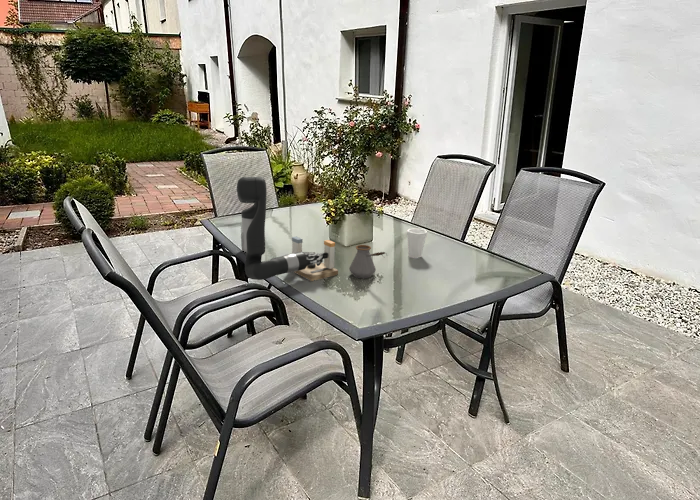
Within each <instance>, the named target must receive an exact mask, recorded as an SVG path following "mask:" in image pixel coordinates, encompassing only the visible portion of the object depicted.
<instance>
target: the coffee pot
mask: <svg viewBox="0 0 700 500" xmlns="http://www.w3.org/2000/svg"><path fill="white" fill-rule="evenodd" d="M355 248H356V253H355V256H354V258H353V260H352V262H351V263H350V266H349V268H348V269H349V272H350V274H352V275H353V276H354V277H355V278H359V279H368V278H371V276H373V275H374V274H375V273H376V270H377V269H376V266H375V263H374V261H373V258H372V257H375V256H376V257H378V256H382V257H384V255H385V254H386V255H388V254H387V252H384V251H380V252H375V253H370V250H371V249H372V247H371V246H370V245H368V244H357V245H356V246H355Z"/></svg>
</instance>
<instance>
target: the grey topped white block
mask: <svg viewBox="0 0 700 500" xmlns="http://www.w3.org/2000/svg"><path fill="white" fill-rule="evenodd" d="M303 243H304V242H303V238H302V237H298V236H291V244H292V245H291V246H292V248H291V250H292V253H296V252H303ZM292 253H291V254H292Z"/></svg>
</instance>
